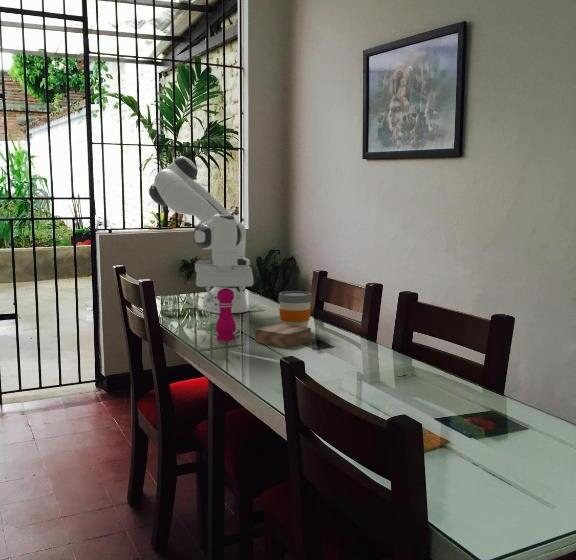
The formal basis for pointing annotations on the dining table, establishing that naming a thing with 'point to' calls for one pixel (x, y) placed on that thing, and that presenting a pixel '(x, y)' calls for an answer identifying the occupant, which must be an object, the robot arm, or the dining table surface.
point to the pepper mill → (225, 316)
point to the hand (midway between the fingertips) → (224, 299)
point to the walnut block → (283, 335)
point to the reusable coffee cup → (295, 308)
